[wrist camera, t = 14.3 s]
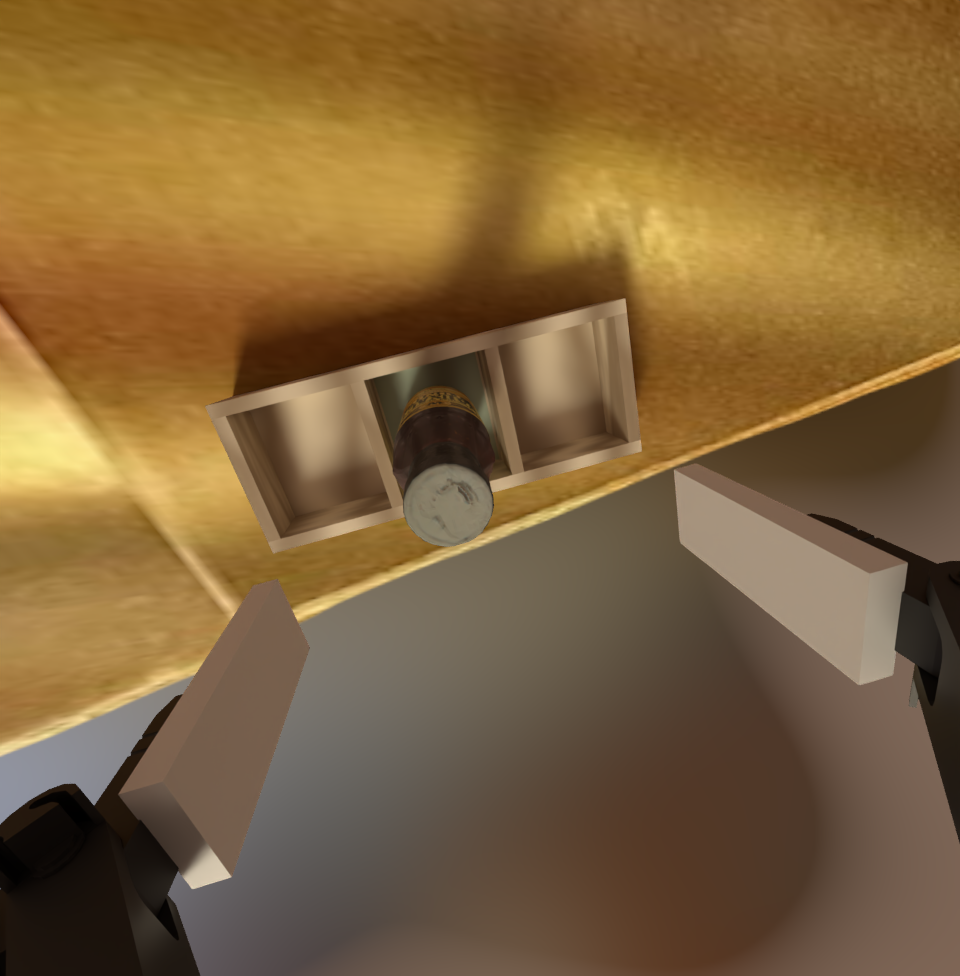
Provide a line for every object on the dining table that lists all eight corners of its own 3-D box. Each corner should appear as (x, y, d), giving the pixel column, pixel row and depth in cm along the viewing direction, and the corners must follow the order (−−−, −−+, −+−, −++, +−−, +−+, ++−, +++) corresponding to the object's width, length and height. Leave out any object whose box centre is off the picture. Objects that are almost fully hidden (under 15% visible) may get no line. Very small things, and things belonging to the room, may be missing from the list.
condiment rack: (598, 302, 37) (625, 298, 32) (615, 437, 41) (641, 451, 37) (232, 396, 35) (205, 406, 31) (289, 527, 40) (273, 553, 35)
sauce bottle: (470, 378, 37) (527, 422, 18) (478, 449, 39) (538, 554, 21) (392, 388, 36) (370, 445, 18) (405, 461, 39) (398, 579, 20)
